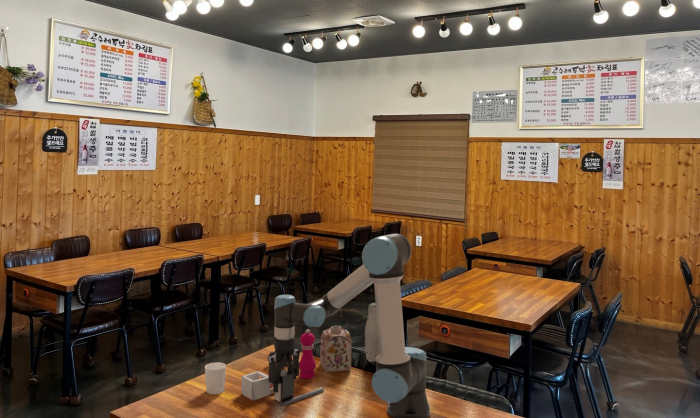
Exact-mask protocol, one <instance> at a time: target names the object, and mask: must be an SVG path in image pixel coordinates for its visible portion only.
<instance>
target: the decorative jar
mask: <svg viewBox="0 0 700 418" xmlns="http://www.w3.org/2000/svg"><path fill="white" fill-rule="evenodd" d="M319 359H320V364H321V366H322V370H323V371H324V372H325V373H334V372H336V373H337V372H348V371H349V372H350V371H351V370H352V338H351V334H350V332H349V330H347V329H344V328H342V326H340V325H333V326H331V327H330V328H327V329H325V330H322V333H321V334H320V358H319Z"/></svg>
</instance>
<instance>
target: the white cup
mask: <svg viewBox="0 0 700 418" xmlns="http://www.w3.org/2000/svg"><path fill="white" fill-rule="evenodd" d="M226 370H227V365H226V364H225V363H224V362H221V361H220V362H219V361H218V362H210V363H207V364H206V365H204V376H205V385H206V386H205V387H206V388H205V389H206V393H207V394H208V395H220V394H222V393H224V392H225V384H226V372H227V371H226Z"/></svg>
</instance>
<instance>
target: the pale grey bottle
mask: <svg viewBox="0 0 700 418" xmlns="http://www.w3.org/2000/svg"><path fill="white" fill-rule="evenodd" d="M367 313H368V314H367V320H366V323H365V327H364V354H365V353H366V358H367V360H368V361H369V362H373V361H374V362H375V361H376V357H377V356H378V355H379V353H380V352H379V339H378V326H377V313H376V302H372V303H370V304H368V307H367ZM367 352H368V353H367ZM370 353H371V354H370ZM375 355H376V356H375Z"/></svg>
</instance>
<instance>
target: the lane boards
mask: <svg viewBox="0 0 700 418" xmlns="http://www.w3.org/2000/svg"><path fill="white" fill-rule="evenodd" d="M271 395H275V392H274V391H273V388H270V395H269V396H271Z"/></svg>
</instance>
